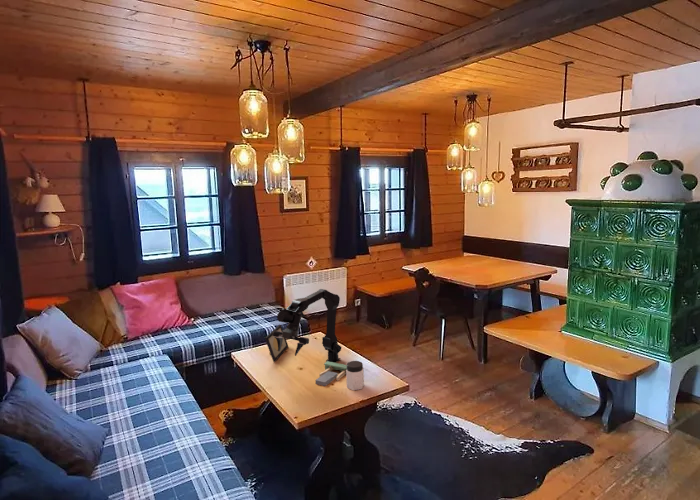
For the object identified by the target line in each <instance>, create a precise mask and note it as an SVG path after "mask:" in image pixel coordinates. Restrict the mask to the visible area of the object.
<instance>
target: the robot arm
mask: <svg viewBox="0 0 700 500" xmlns="http://www.w3.org/2000/svg"><path fill="white" fill-rule="evenodd" d="M321 299H323V300H324V305H325V308H326V309H327V313H326V332H325V335H324V336H322V337H321V338H322V342H321V344H322V346H323V348H324V351H327V359H326V360H325V363H326V362H327V361H329V362H334V363H339V361H340V360H342V359H341V357H339V353H340V352H341V351H342V345H340V344H339V343H338V342H339V341H338V338H337V335H336V315H337V309H338V307H339V305H340V300H341V298H340V296H339V295H338V294H336V293H333V292H330V291H329V290H327V289H324V288H320V289H318V290H316V291H315V292H313V293H311V294H309V295H306V296H305V297H301V298H296V299H293V300H292V301H291V303H290V304H289V305H288V306H287V308H281V310H280V311H278V313H277V316H276V319H277V321H278V322H280V323H284V324H285V323H286V324H287V325H286V328H285V329H282V330H283V332H281V331H274V332H273V335H272V336H275V337H274V338H276V340H277V343H278V352H280V350H281V346H282V342H283V338H284V337H285V338H286V340H287V339H288V340H294V341H298V342H297V343H296V345H297V346H296V349H295V352H294V357H296V356H297V355H298V353H299V352H300V350H301V349H302V347H304V346H306V345H308V344H309V343H310V338H309V337H305V336H300V337H299V333H298V332H299V330H300V327H301V326H300V324H301V320H302V317H303V318H304V317H306V316H305V314H304V312H305V311H306V310H308V308H309V307H310V305H312V304H314V303H316V302H318V301H320V300H321ZM282 337H283V338H282Z"/></svg>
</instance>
